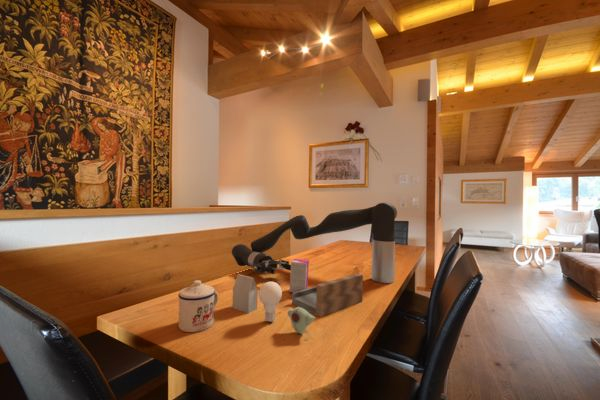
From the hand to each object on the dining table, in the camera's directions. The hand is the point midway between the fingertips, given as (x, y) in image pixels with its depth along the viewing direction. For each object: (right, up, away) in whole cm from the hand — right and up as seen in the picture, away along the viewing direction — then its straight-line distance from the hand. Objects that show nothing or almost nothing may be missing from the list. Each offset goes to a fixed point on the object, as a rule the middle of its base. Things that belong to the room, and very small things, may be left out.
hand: (282, 269), depth 106 cm
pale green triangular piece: (+7, -7, -38) cm, 39 cm away
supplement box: (+6, -6, -7) cm, 12 cm away
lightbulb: (-2, -6, -32) cm, 32 cm away
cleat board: (+16, -7, -16) cm, 24 cm away
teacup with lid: (-20, -6, -33) cm, 39 cm away
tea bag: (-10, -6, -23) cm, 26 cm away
